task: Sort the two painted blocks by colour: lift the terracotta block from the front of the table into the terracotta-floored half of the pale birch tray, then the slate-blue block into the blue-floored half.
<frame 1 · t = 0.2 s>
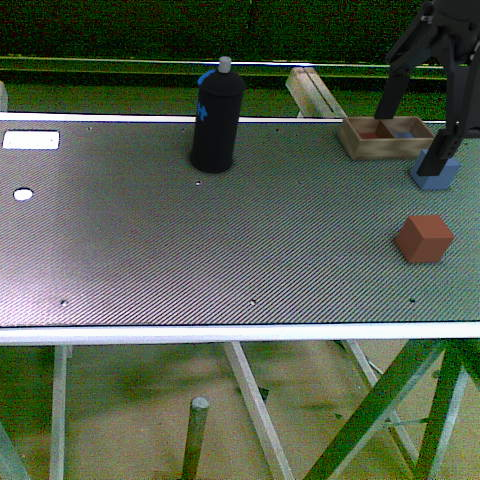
hand: (403, 144, 65), 18 cm above the table, tool pointing down, fingers open, 13 cm apart
blue block: (427, 181, 89), on the table
aerosol can: (211, 161, 91), on the table
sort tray: (382, 146, 97), on the table
terracotta block: (416, 251, 76), on the table
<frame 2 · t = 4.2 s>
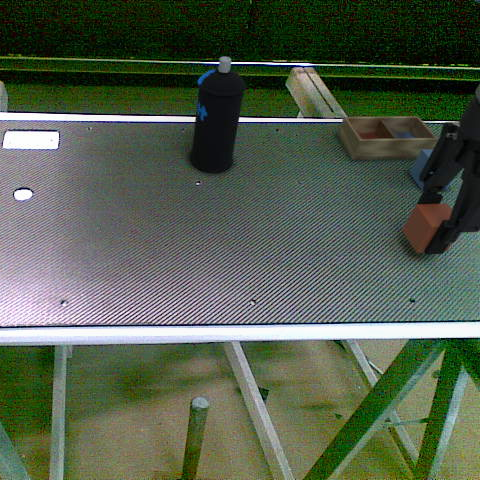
hand: (424, 239, 74), 3 cm above the table, tool pointing down, fingers closed on terracotta block, 5 cm apart
terracotta block: (424, 240, 74), point 2 cm above the table, touching gripper
everything else where it was.
when the fingers open (1 cm above the table, at t = 10.1 s): terracotta block stays where it is, resting on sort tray.
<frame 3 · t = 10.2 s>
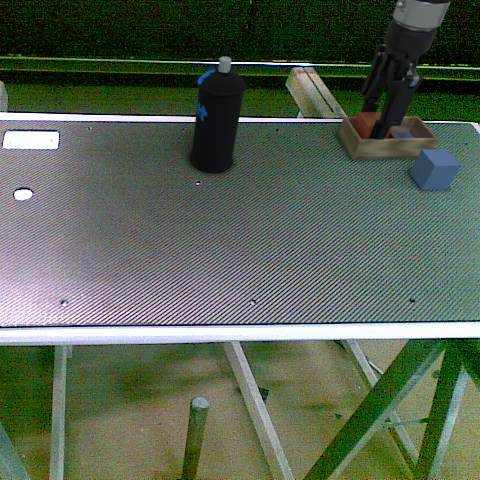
hand: (365, 141, 96), 1 cm above the table, tool pointing down, fingers open, 5 cm apart
terracotta block: (365, 142, 96), point 1 cm above the table, touching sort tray
everything else where it was.
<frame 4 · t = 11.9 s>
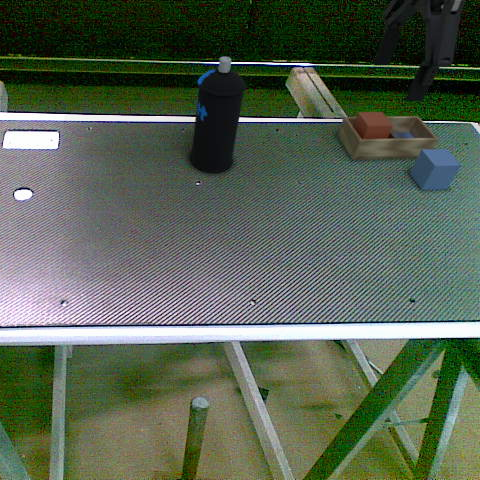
hand: (396, 81, 86), 14 cm above the table, tool pointing down, fingers open, 13 cm apart
nothing on the table moved.
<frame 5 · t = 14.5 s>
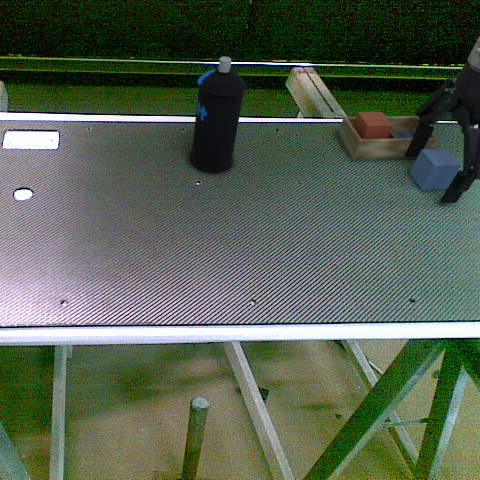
hand: (428, 178, 88), 1 cm above the table, tool pointing down, fingers open, 13 cm apart
nothing on the table moved.
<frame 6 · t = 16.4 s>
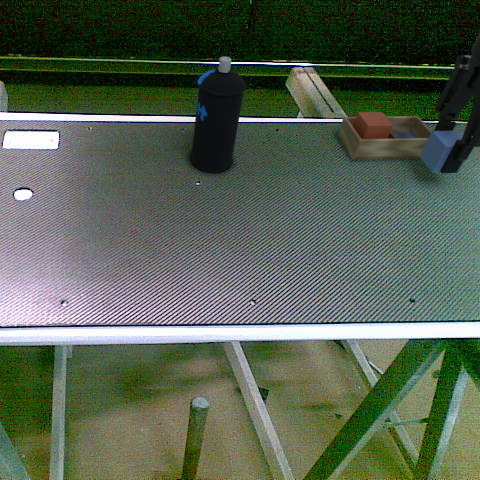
hand: (440, 162, 86), 4 cm above the table, tool pointing down, fingers closed on blue block, 5 cm apart
blue block: (438, 164, 86), point 4 cm above the table, touching gripper
everything else where it was.
when the fingers open (3 cm above the table, at t = 22.0 s): blue block stays where it is, resting on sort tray.
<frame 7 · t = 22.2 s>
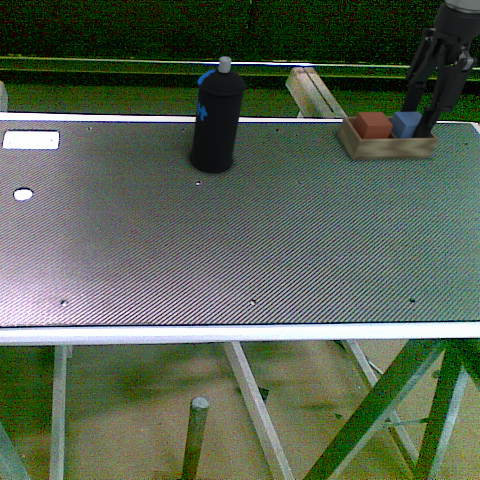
hand: (412, 128, 94), 4 cm above the table, tool pointing down, fingers open, 6 cm apart
blue block: (401, 142, 96), point 1 cm above the table, touching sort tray
everything else where it was.
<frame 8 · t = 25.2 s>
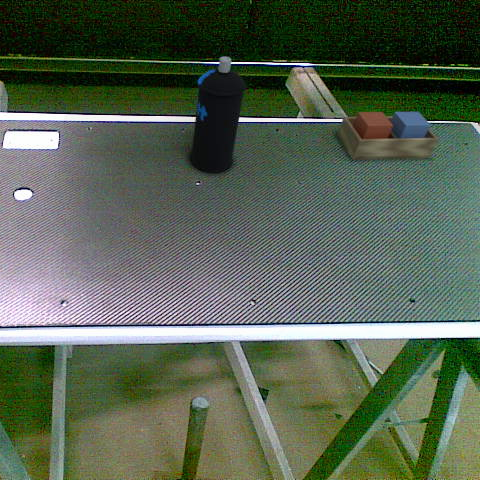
nothing on the table moved.
at the end: terracotta block inside the target area on the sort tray (0.1 cm from its centre), point 1.0 cm above the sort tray's base; blue block inside the target area on the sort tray (0.3 cm from its centre), point 1.0 cm above the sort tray's base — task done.
